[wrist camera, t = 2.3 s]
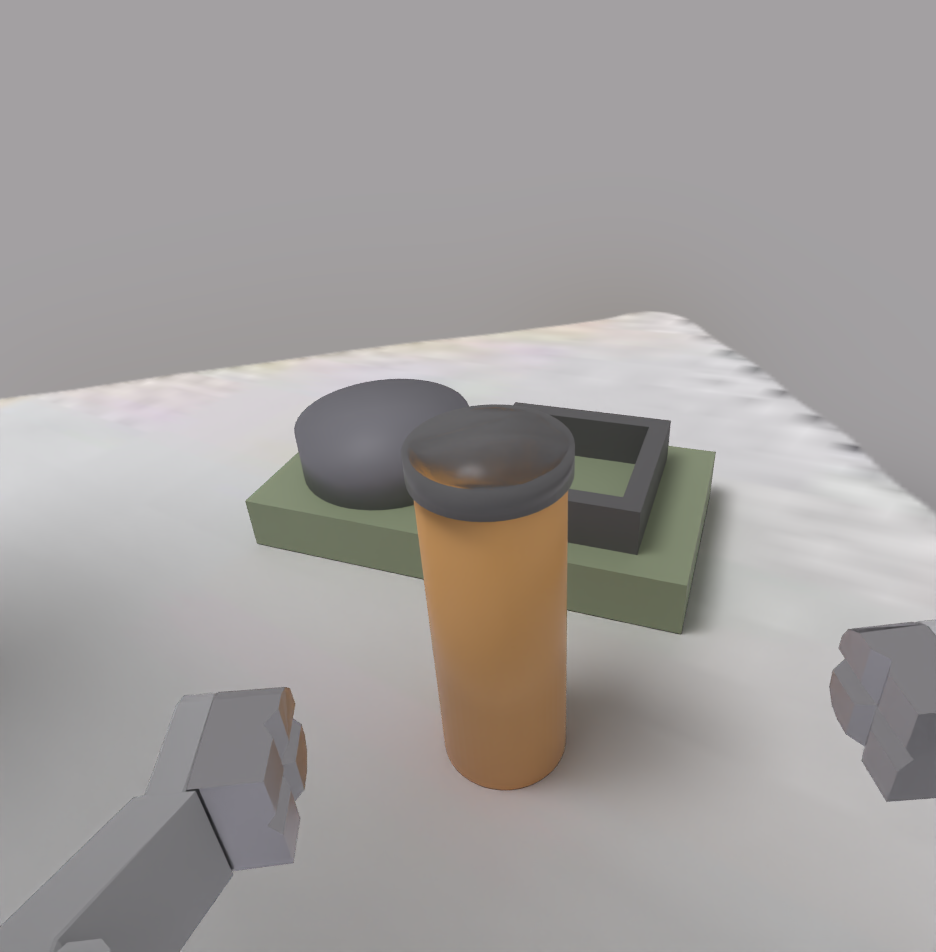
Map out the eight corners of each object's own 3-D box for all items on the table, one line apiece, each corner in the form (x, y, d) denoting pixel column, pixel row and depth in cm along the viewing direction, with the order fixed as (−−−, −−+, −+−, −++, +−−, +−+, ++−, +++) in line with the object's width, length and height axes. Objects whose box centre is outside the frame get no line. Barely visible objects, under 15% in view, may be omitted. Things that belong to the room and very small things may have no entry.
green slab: (257, 543, 43) (232, 455, 40) (356, 442, 52) (343, 364, 49) (680, 633, 35) (693, 532, 31) (709, 495, 44) (721, 405, 41)
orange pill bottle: (418, 771, 29) (370, 477, 22) (468, 672, 34) (441, 396, 26) (549, 812, 28) (546, 506, 20) (584, 702, 32) (593, 414, 24)
